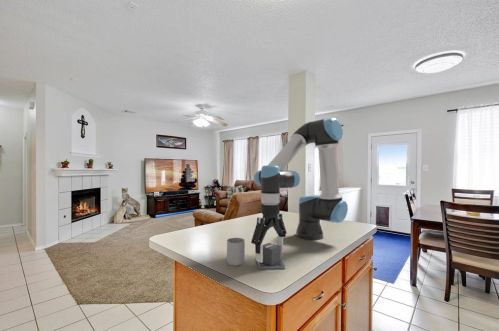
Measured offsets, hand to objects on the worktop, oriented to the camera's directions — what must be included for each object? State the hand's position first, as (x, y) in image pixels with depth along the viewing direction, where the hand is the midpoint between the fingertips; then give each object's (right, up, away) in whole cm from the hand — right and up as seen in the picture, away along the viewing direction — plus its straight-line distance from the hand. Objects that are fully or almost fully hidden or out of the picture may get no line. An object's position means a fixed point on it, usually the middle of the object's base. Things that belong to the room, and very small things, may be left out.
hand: (270, 256), depth 91 cm
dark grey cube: (0, -2, 0) cm, 2 cm away
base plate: (0, -3, 0) cm, 3 cm away
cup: (-14, -3, +2) cm, 15 cm away
